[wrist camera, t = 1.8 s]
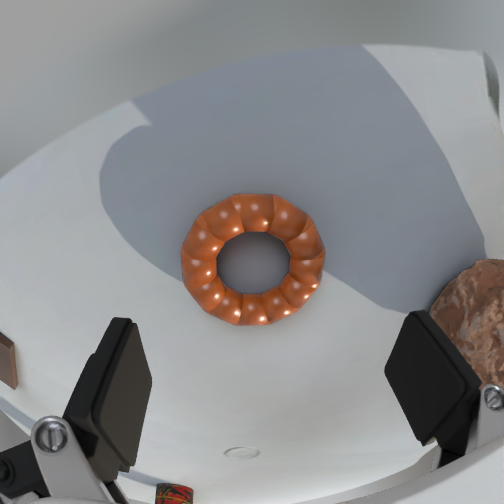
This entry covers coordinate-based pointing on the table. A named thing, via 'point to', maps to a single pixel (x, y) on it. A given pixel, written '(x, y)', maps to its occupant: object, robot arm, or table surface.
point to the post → (7, 362)
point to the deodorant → (173, 494)
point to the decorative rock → (476, 318)
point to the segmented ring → (252, 220)
